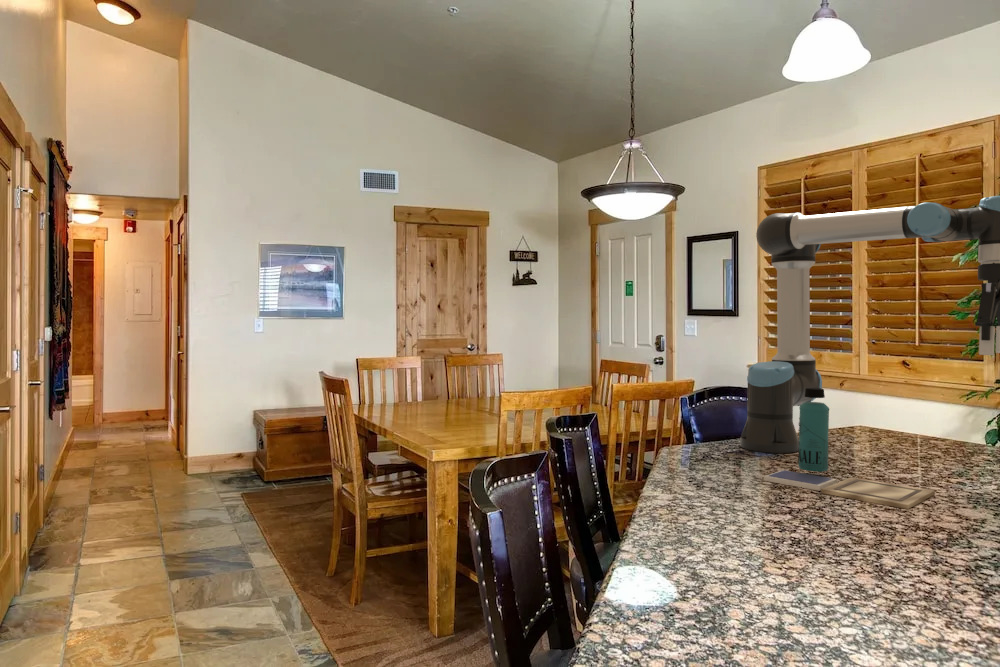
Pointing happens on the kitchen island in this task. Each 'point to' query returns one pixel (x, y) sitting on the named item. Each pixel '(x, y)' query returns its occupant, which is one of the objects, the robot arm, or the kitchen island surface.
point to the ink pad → (800, 480)
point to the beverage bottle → (813, 433)
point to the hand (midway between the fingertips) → (994, 354)
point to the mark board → (878, 492)
